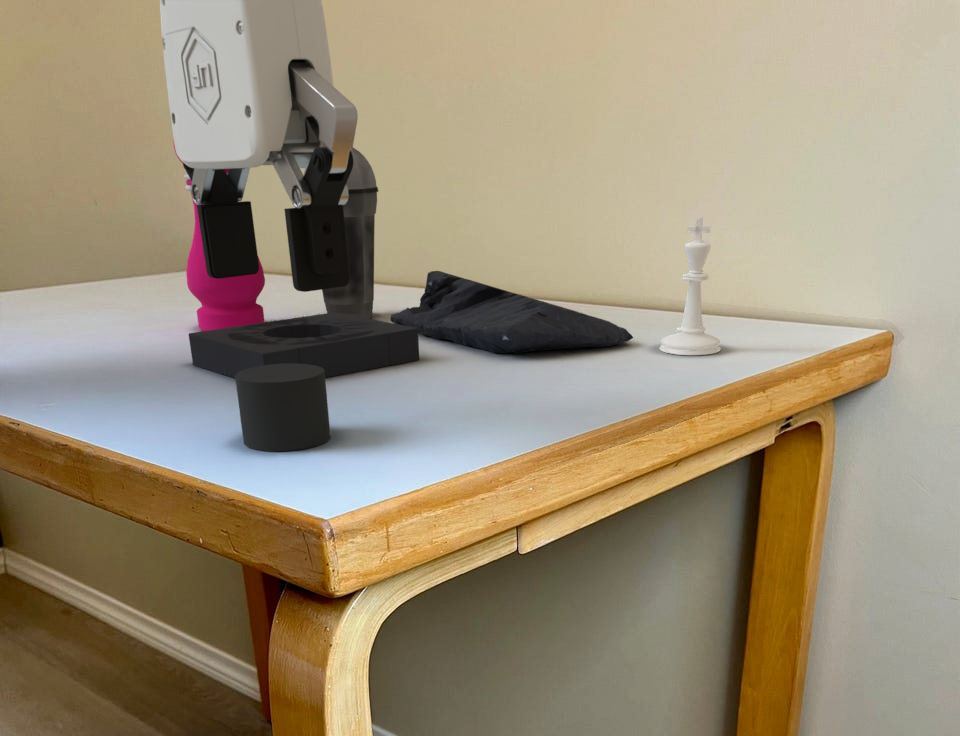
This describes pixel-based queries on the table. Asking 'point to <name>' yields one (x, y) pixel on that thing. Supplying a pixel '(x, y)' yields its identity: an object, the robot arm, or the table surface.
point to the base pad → (307, 344)
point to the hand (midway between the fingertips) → (275, 281)
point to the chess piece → (693, 303)
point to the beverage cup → (357, 243)
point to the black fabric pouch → (502, 319)
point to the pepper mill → (221, 288)
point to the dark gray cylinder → (283, 406)
